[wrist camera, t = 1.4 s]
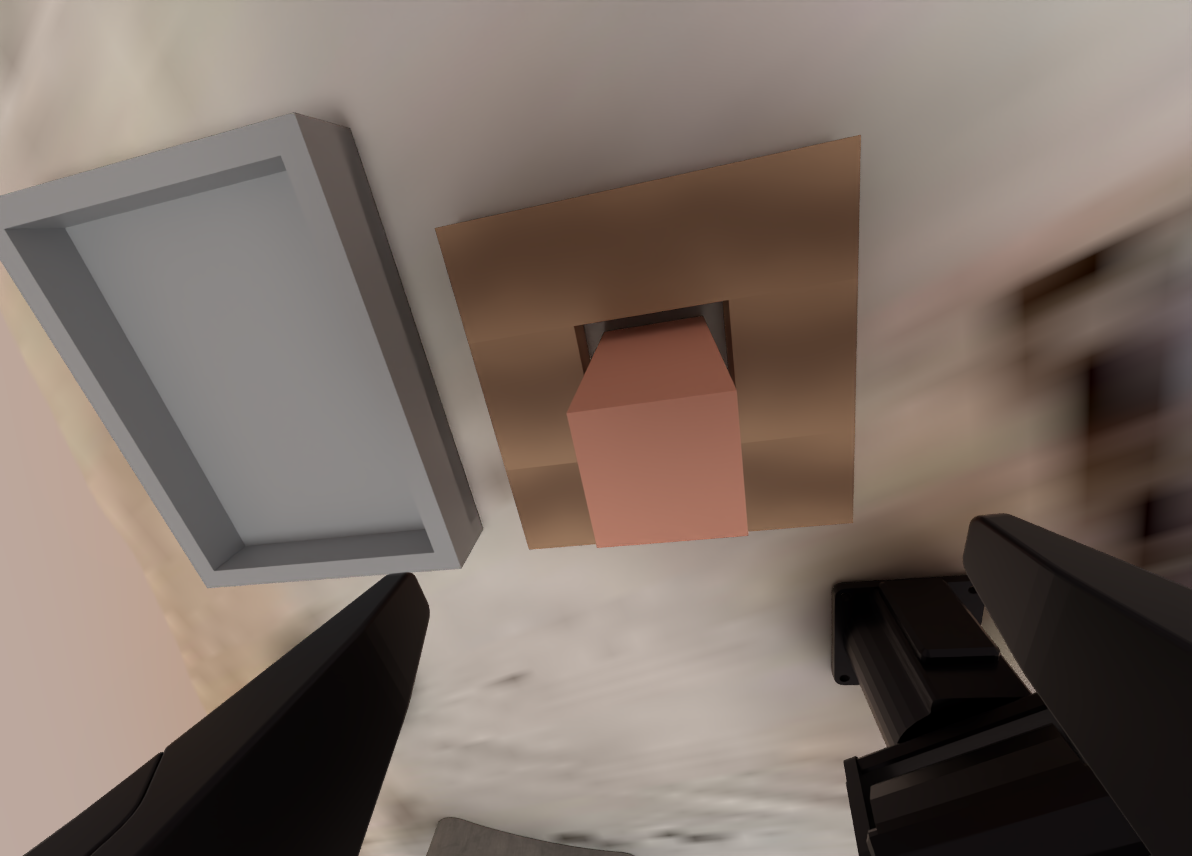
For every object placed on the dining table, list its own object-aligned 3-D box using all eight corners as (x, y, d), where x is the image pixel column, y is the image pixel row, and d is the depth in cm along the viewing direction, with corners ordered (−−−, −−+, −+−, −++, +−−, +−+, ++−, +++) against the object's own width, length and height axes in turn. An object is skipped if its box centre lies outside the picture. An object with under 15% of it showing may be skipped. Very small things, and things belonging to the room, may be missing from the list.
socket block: (836, 496, 21) (852, 522, 20) (539, 524, 24) (529, 549, 22) (838, 143, 16) (860, 134, 14) (456, 227, 19) (434, 228, 17)
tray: (483, 529, 25) (461, 568, 22) (252, 550, 27) (207, 588, 24) (349, 128, 18) (294, 112, 15) (58, 206, 20) (-35, 205, 18)
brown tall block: (712, 408, 20) (748, 535, 12) (620, 420, 21) (597, 547, 13) (702, 315, 19) (736, 390, 11) (604, 331, 20) (566, 413, 12)
